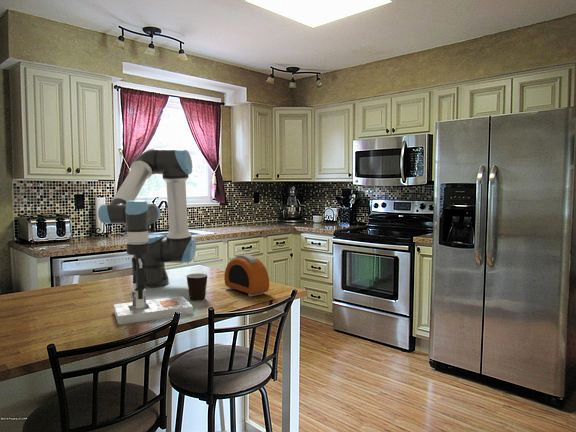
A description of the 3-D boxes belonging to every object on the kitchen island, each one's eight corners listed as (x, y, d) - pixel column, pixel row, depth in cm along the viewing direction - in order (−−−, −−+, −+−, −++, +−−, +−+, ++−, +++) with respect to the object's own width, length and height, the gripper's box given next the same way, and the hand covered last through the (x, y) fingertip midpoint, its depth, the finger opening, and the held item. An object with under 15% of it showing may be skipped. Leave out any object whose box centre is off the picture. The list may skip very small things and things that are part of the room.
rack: (113, 312, 160) (113, 303, 159) (182, 303, 172) (182, 295, 171) (118, 324, 146) (118, 315, 145) (193, 314, 157) (193, 305, 157)
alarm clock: (223, 288, 197) (223, 252, 195) (239, 285, 203) (239, 250, 201) (253, 298, 179) (253, 259, 178) (270, 295, 185) (270, 257, 184)
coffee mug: (202, 302, 173) (202, 278, 172) (183, 301, 175) (182, 277, 174) (213, 295, 185) (213, 272, 184) (195, 293, 186) (194, 271, 185)
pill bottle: (134, 304, 158) (133, 282, 158) (147, 304, 159) (146, 282, 158) (130, 308, 154) (130, 285, 153) (144, 307, 154) (143, 285, 153)
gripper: (123, 240, 160) (125, 300, 162) (129, 246, 145) (131, 313, 146) (144, 239, 164) (145, 298, 166) (152, 245, 148) (154, 310, 150)
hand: (139, 305), depth 156 cm, fingers closed on pill bottle, 5 cm apart
